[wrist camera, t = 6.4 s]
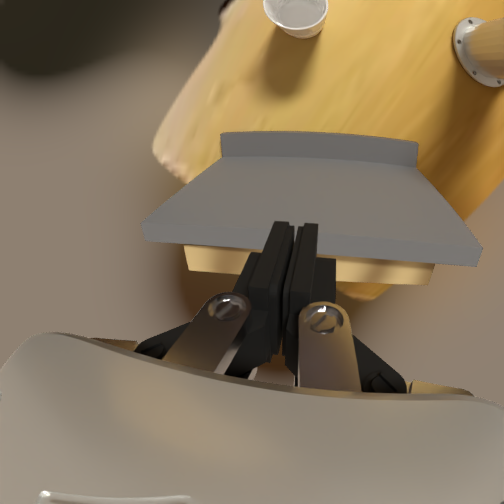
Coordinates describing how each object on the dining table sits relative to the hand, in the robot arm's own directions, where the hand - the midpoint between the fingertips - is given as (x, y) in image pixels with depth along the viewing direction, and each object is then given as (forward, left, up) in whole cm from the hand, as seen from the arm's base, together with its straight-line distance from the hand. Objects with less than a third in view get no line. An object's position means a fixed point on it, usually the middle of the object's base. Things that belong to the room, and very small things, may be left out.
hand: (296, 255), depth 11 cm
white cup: (+2, -18, -37) cm, 41 cm away
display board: (0, +6, -37) cm, 37 cm away
